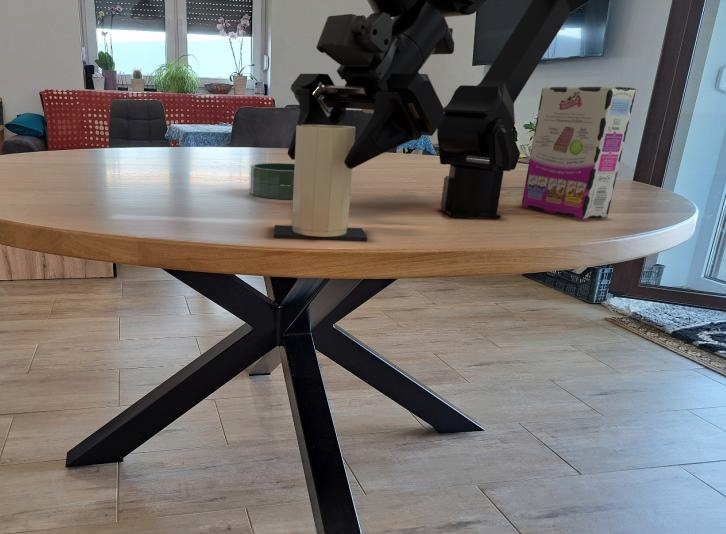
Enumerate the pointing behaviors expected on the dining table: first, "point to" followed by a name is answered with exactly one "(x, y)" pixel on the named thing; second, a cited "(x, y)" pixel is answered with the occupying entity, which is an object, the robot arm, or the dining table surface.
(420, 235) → the dining table surface
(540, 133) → the candy bar box
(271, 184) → the bowl
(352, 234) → the mat
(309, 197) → the cup
